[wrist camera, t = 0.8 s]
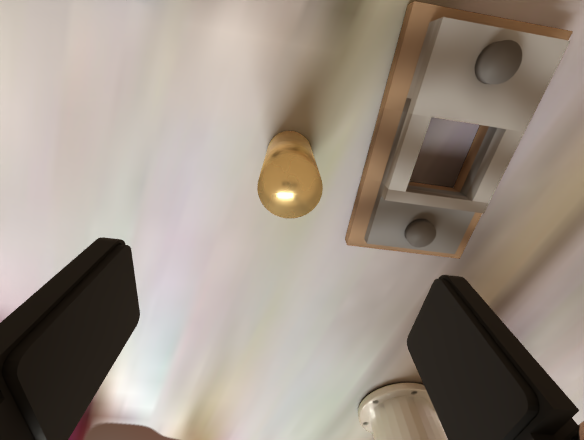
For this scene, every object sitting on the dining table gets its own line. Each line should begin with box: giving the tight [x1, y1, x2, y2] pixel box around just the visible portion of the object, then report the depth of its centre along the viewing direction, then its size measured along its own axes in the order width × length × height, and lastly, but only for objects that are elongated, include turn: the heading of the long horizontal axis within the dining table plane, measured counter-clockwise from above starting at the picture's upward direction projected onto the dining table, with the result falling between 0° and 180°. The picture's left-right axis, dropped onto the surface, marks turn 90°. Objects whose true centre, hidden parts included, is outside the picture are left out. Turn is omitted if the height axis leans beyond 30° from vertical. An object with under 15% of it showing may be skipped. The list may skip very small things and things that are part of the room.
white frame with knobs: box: [345, 1, 573, 259], centre depth 24 cm, size 20×12×4 cm, turn 172°
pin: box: [258, 131, 322, 218], centre depth 21 cm, size 4×4×9 cm
